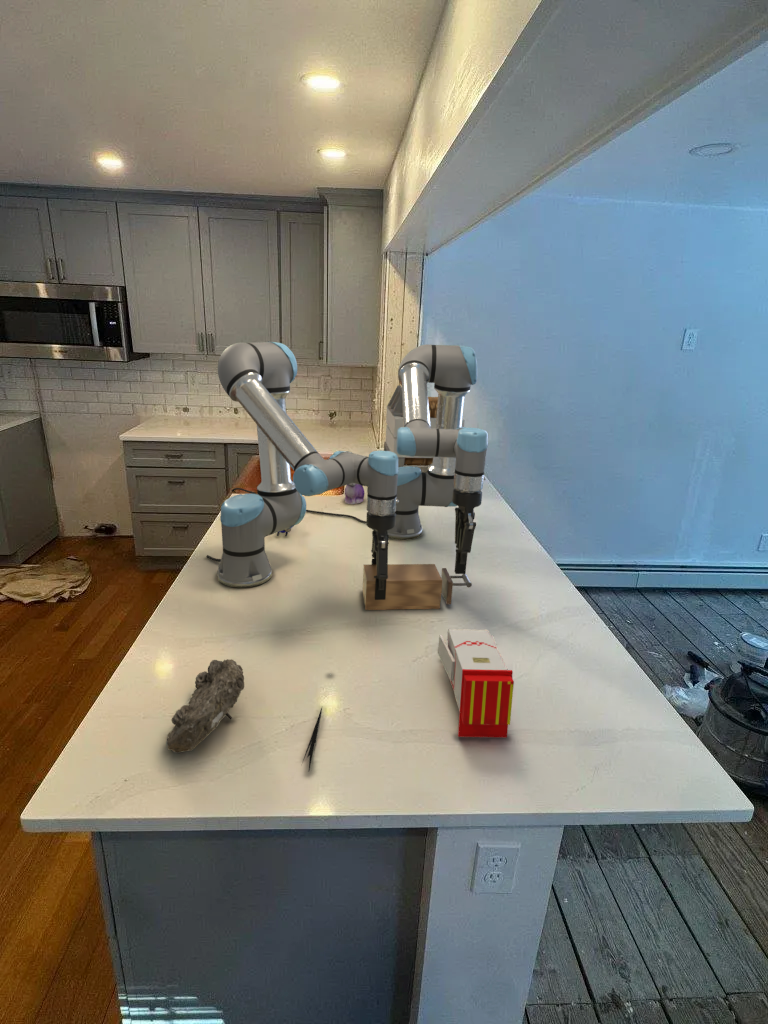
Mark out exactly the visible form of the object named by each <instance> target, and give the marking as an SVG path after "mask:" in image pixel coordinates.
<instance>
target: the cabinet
mask: <svg viewBox="0 0 768 1024" xmlns="http://www.w3.org/2000/svg"><path fill="white" fill-rule="evenodd" d="M362 569H363V570H362V572H363V573H362V596H363V597H362V598H363V603H364V610H365V611H382V610H383V611H385V610H389V611H391V610H439V609H441V602H440V601H442V593H441V590H442V578H441V573H440V572H439V569H438V568H437V565H436V564H435V563H405V564H404V563H403V564H402V563H400V564H399V563H394V564H393V563H390V564H389V563H388V579H386V598H385V600H375V582H376V578H374V576H376V575H377V564H375V565H372V564H363V568H362Z"/></svg>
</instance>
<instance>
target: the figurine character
mask: <svg viewBox="0 0 768 1024" xmlns="http://www.w3.org/2000/svg"><path fill="white" fill-rule="evenodd" d="M294 527H295V526H293V527H292V528H294ZM292 528H289V529H285V530H282V531H280V532H277V533H276V536H277V537H279V536H280V533H281V534H284V537H287V536H288V534H289V533H290V532H292Z"/></svg>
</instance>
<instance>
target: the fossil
mask: <svg viewBox="0 0 768 1024" xmlns="http://www.w3.org/2000/svg"><path fill="white" fill-rule="evenodd" d="M243 670H244V669H243V667H242V665H240V664H237V662H236V661H235V660H234V659H232V658H231V659H227V658H226V659H224V660H223V661H222V660H217V659H212V660H211V661H210V663H209V665H208V666H207V671H201V672H199V673H198V674H197V675H196V676H195V680H194V684H195V685H194V687H195V689H194V690H193V693H192V694H191V697H190V698H189V700H188V704H184V705H182V706H181V707H180V709H177V710H176V711H175V713H174V715H173V716H172V718H171V723H172V724H173V727H172V730H171V731H170V732H168V734H167V738H166V741H167V742H166V745H167V749H168V750H169V751H173V752H174V753H176V754H178V753H182V752H188V751H189V752H192V751H193V750H195V748H196V747H197V746H199V744H200V743H201V742H203V741H204V740H205V739H206V738H207V737H208V736H209V735H210V734H211V733H212V732H214V730H215V729H217V727H218V726H219V724H220V722H221V721H222V720H223V719H224V718H225V716H226V717H227V719H229V720H233V717H232V715H230V714H229V710H230V709H231V708H234V706H235V704H236V703H237V702H238V699H239V697H240V695H241V693H242V691H243V690H245V689H244V688H245V675H244V671H243Z"/></svg>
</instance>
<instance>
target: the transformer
mask: <svg viewBox="0 0 768 1024" xmlns="http://www.w3.org/2000/svg"><path fill="white" fill-rule="evenodd" d="M428 402H429V413H430V424H431V428H433V429H435V428H436V416H437V404H438V396H428ZM385 414H386V415H385V423H386V428H385V438H384V442H383V451H390V452H393V453H395V454H396V455H397V456H398V467H404V466H413V467H428V466H429V465H431V464H432V463H433V457H424V456H406V455H399V454H398V453H397V449H396V447H397V430H398V429H399V428H401V427H403V404H402V385H401V384H400V385H399V384H398V385H397V386H396V388H395V390H394V392H393V394H392V395H391V398H390V400H389V402H388V404H387V405H386V413H385ZM462 427H465V419H464V418H462Z"/></svg>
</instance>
